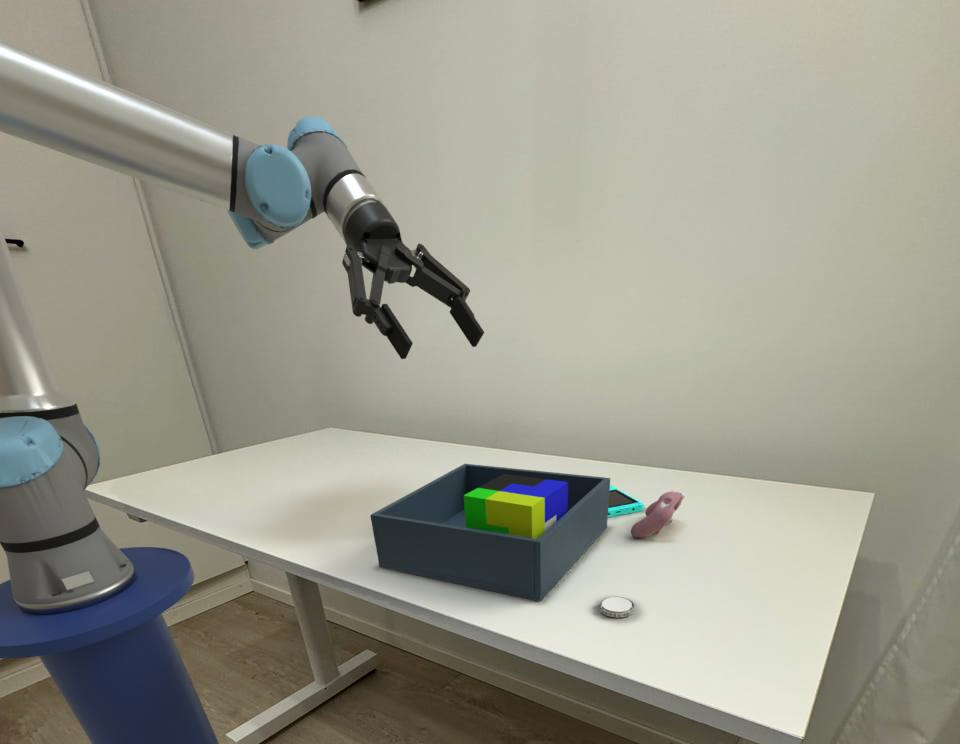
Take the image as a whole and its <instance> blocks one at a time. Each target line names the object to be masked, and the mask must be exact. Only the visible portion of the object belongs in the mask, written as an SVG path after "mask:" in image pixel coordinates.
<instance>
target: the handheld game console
mask: <svg viewBox="0 0 960 744" xmlns="http://www.w3.org/2000/svg"><path fill="white" fill-rule="evenodd" d="M644 505H645V503H644V502H642V501H640V500H638V499H636V498H635V497H633V496H631V495H629V494H628V493H626V492H624V491H622V490H620V489H619V488H616V487H615V486H613V485H611V484H610V490H609V505H608V518H612V517H618V516H622V515H627V514H632V513H638V512H642V511H644V508H645V506H644Z"/></svg>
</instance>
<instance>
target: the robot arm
mask: <svg viewBox="0 0 960 744" xmlns="http://www.w3.org/2000/svg"><path fill="white" fill-rule="evenodd" d="M0 133H4V134H6V135H9V136H12V137H15V138H19V139H20V140H23V141H27V142H30V143H33V144H36V145H38V146H41V147H44V148H48V149H50V150H53V151H56V152H57V153H58V152H59V153H62V154H65V155H67V156H69V157H70V156H71V157H73V158H75V159H79V160H82V161H85V162H88V163H90V164H94V165H96V166H99V167H102V168H104V169H108V170H111V171H114V172H116V173H119V174H122V175H124V176H127V177H132V178H134V179H137V180H140V181H143V182H145V183H148V184H151V185H154V186H157V187H160V188H162V189H166V190H169V191H171V192H174V193H177V194H179V195H183V196H186V197H188V198H191V199H195V200H197V201H201V202H203V203H206V204H209V205H211V206H215V207H218V208H220V209H224V210H226V211H227V213H228V215H229V217H230V219H231V221H232V222H233V224H234V226H235V227H236V230H237V231H238V233H239V234H240V236H241V237H242V239H243V241H244V242H245V244H246V245H247V246H248V247H249V248H251V249H252V250H259V249H261V248H264V247H266V246H267V245H271V244H274V243H275V241H277V240H278V239H280V238H282V237H284V236H286V235H287V234H289V233H290V232H292V231H294V230H295V229H297V228H299V227H300V226H302V225H304V224H305V223H307V222H309V221H310V220H312V219H315V218H316V217H318V216H319V215H321V214H323V213H325V214H326V216H327V219H329V221H330V222H331V224H332V225H333V227H334V228H335V230H336V231H337V233H338V234H339V235H340V237H341V238H342V240H343V241H344V243H345V246H346V247H345V250H344V254H343V257H342V261H341V264H342V266H343V268H344V270H345V271H346V273H347V279H348V287H349V293H350V302H351V309H352V314H353V315H354V316H355V317H359V318H360V317H362V315H365V316H364V321H365V322H366V323H367V324H369V325H373V324H374V326H376V328H377V329H378V331H379V332H380V334H381V335H382V336H384V337H386V338H387V339H388V341H389V342H390V344H391V346H392V348H393V349H394V350H395V352H396V353H397V355H398V356H399V358H400V359H401V360H406V359H407V357H408V355H409V353H410V350H411V348H412V346H413V345H414V343H413V341H412V340H411V338H410V337H409V335H408V333H407V332H406V331H405V329H404V327H403V325H402V324H401V323H400V321H399V320H398V319H397V317H396V315H395V314H394V312H393V311H392V309H391V307H390V306H389V304H388V303H382V304H381V301H382V295H383V290H384V284H385V282H386V283H387V284H388V285H392V284H393V285H394V284H395V283H399V284H406V285H408V286H410V287H412V288H414V287H417V288H419V289H420V290H422V291H424V292H425V293H427V294H428V295H429V296H432V297H433V298H434V299H436V300H437V301H439V302H440V303H443V304H444V305H445V306H447V307H448V308H450V310H449V314H450V315H451V317H452V318H453V320H454V322H455V323H456V325H457V326H458V327H459V329H460V331H461V332H462V333H463V335H464V336H465V338H466V339H467V341H468V343H469V344H470V346H471V347H472V348H477V346H478V344H479V343H480V341H481V339H482V337H483V336H484V334H485V331H484V329H483V328H482V326H481V325H480V323H479V322H478V320H477V319H476V317H475V313H474V312H473V310H472V309H471V308H470V306H469V304H468V303H467V298H468V297H469V295H470V292H471V289H470V288H469V287H468V286H467V285H466V284H465V283H464V282H463V281H462V280H461V279H460V278H458V277H457V276H456V275H454V274H453V272H451V271H450V269H448V268H446V267H445V265H443V264H442V263H441V262H440V261H439V260H437V259H436V258H435V257H434V256H432V255H431V253H430V252H429V251H428V249H427V248H426V247H425V246H424V244H422V243H418V244H417V245H416V248H415V249H410V248H409V247H408V246H406V245H405V244H404V242H403V240H402V235H401V230H400V227H399V224H398V223H397V221H396V220H395V218H394V217H393V216H392V214H391V212H390V211H389V210H388V208H387V206H385V204H384V202H383V200H382V198H381V197H380V195H379V194H378V193H377V190H375V188H374V186H373V185H372V184H371V182H370V181H369V180H368V178H367V177H366V176H365V174H364V173H363V171H362V170H361V168H360V166H359V165H358V163H357V161H356V160H355V158H354V156H353V155H352V153H351V152H350V151H349V149H348V146H347V145H346V143H345V141H344V140H343V139H342V138H341V137H340V135H339V134H338V133H337V131H336V130H335V129H334V128H333V127H332V126H331V125H330V123H329V122H328V121H326V120H325V119H324V118H322V117H319V116H316V115H308V116H305V117H302V118H301V119H299V120H298V121H296V123H295V126H294V128H293V129H291V130H290V131H289V133H288V136H287V144H286V147H284V146H282V145H279V144H274V143H273V144H271V143H270V144H266V143H265V144H263V145H260V144H257V143H255V142H253V141H250V140H248V139H246V138H243V137H239V136H237V135H234V134H233V133H232V132H228V131H226V130H224V129H221V128H220V127H219V128H218V127H216V126H213V125H211V124H209V123H206V122H204V121H201V120H199V119H196V118H194V117H192V116H189V115H187V114H184V113H182V112H180V111H177V110H175V109H172V108H170V107H167V106H164V105H163V104H160V103H158V102H155V101H152V100H150V99H147V98H145V97H143V96H140V95H138V94H135V93H133V92H131V91H128V90H126V89H124V88H122V87H118V86H117V85H114V84H111V83H109V82H106V81H104V80H101V79H99V78H97V77H94V76H92V75H89V74H87V73H84V72H82V71H80V70H77V69H75V68H72V67H70V66H67V65H65V64H62V63H61V62H58V61H55V60H52V59H50V58H48V57H46V56H43V55H40V54H38V53H35V52H34V51H30V50H29V49H26V48H24V47H22V46H18V45H16V44H13V43H11V42H9V41H6V40H4V39H1V38H0ZM12 257H13V256H12V255H11V252H10V249H9V247H8V243H7V241H6V238H5V235H4V233H3V230H2V227H1V226H0V546H1V548H2V550H3V551H4V553H5V555H6V560H7V566H8V572H9V573H8V574H9V580H11V587H12V593H13V598H14V600H15V601H16V603H17V605H18V606H19V608H20V609H21V611H23V612H25V613H28V614H33V615H53V614H61V613H66V612H71V611H76V610H79V609H83V608H86V607H90V606H93V605H95V604H98V603H101V602H103V601H106V600H108V599H110V598H112V597H114V596H116V595H118V594H120V593H121V592H123V591H124V590H126V589H127V588H128V587H130V586H131V585H132V584H133V583H134V581H135V580H136V577H137V574H136V571H135V569H134V567H133V565H132V563H131V562H130V560H129V559H128V558H127V557H126V556H125V555H124V554H123V553H122V552H121V550H120V548H119V547H118V546H117V545H116V544H115V542H113V541H112V540H111V539H110V537H108V535H107V534H106V533H105V532H104V530H103V529H102V528H101V525H100V523H99V521H98V519H97V517H96V515H95V513H94V510H93V508H92V506H91V504H90V501H89V500H88V496H87V495H86V493H85V490H86V489H87V488H88V486H89V485H90V484H92V483H93V481H94V479H95V478H96V476H97V475H98V472H99V469H100V466H101V465H100V464H101V462H100V461H101V452H100V447H99V444H98V442H97V439H96V438H95V436H94V434H93V433H92V431H91V430H90V429H89V428H88V427H87V426H86V424H84V421H83V419H82V415H81V413H80V410H79V406H78V404H77V402H76V399H74V398H73V397H71V396H70V395H68V394H67V393H65V392H64V391H62V390H61V389H60V388H59V385H58V382H57V380H56V377H55V374H54V372H53V369H52V366H51V363H50V360H49V358H48V355H47V352H46V349H45V346H44V343H43V341H42V338H41V335H40V333H39V330H38V327H37V324H36V322H35V318H34V316H33V313H32V310H31V308H30V304H29V301H28V299H27V296H26V294H25V290H24V288H23V285H22V282H21V280H20V277H19V274H18V271H17V268H16V266H15V263H14V260H13V258H12ZM413 267H414V269H415V271H414V273H413V276H411V274H412V271H413ZM363 268H364V269H366V270H367V271H369V273H372V279H371V283H370V290H369V291H370V292H369V297H368V298H367V293H366V286H365V279H364V272H363Z"/></svg>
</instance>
